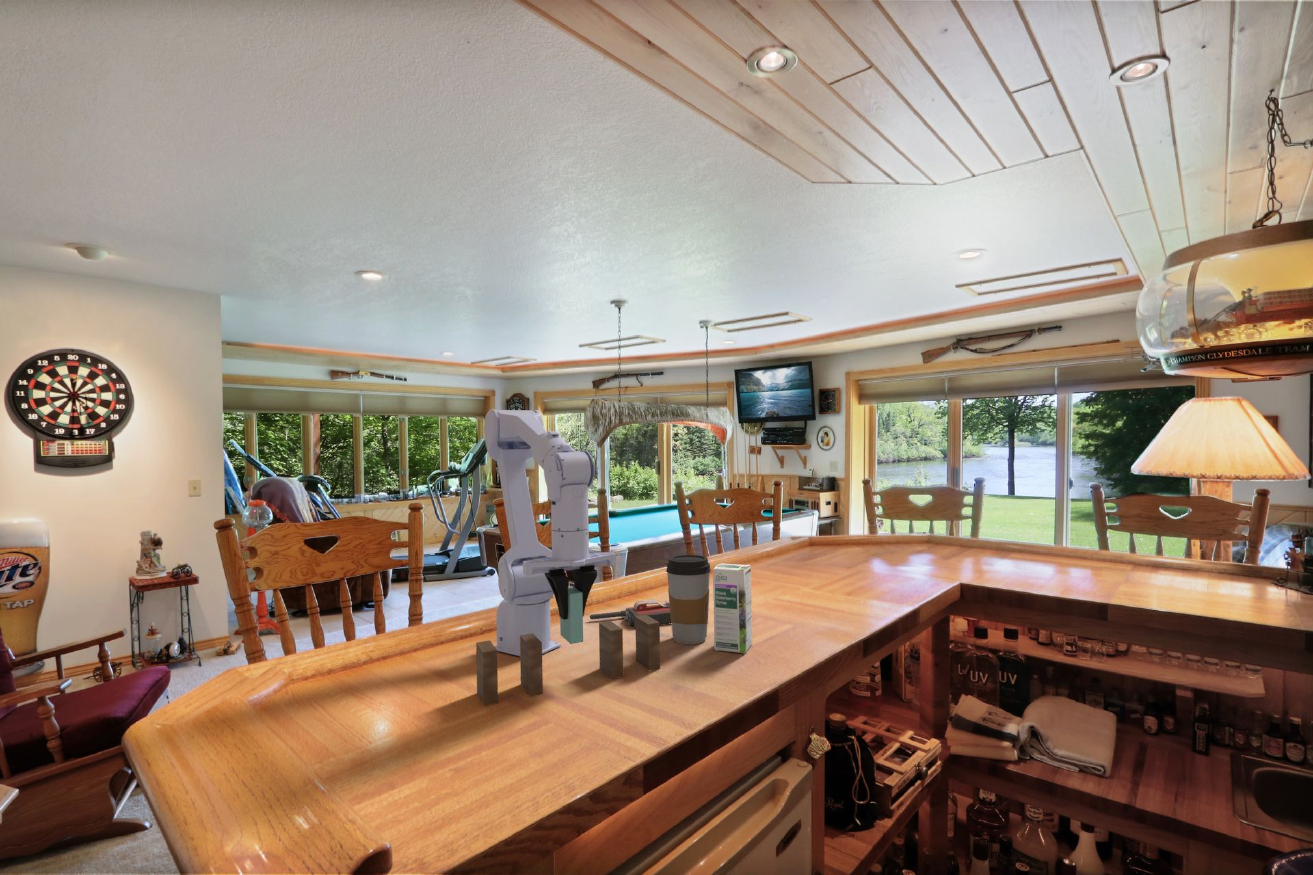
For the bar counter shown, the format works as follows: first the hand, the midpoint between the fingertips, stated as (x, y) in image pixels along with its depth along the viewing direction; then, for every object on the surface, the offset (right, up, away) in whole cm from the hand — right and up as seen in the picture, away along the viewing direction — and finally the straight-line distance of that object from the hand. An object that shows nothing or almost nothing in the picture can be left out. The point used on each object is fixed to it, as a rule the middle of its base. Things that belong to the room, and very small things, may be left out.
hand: (571, 616), depth 94 cm
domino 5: (+12, -10, +6) cm, 16 cm away
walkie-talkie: (+10, -11, +31) cm, 34 cm away
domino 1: (-11, -10, -6) cm, 16 cm away
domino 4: (+6, -10, +3) cm, 12 cm away
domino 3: (0, -3, 0) cm, 3 cm away
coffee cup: (+19, -10, +18) cm, 29 cm away
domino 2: (-6, -10, -3) cm, 12 cm away
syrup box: (+27, -10, +14) cm, 32 cm away
